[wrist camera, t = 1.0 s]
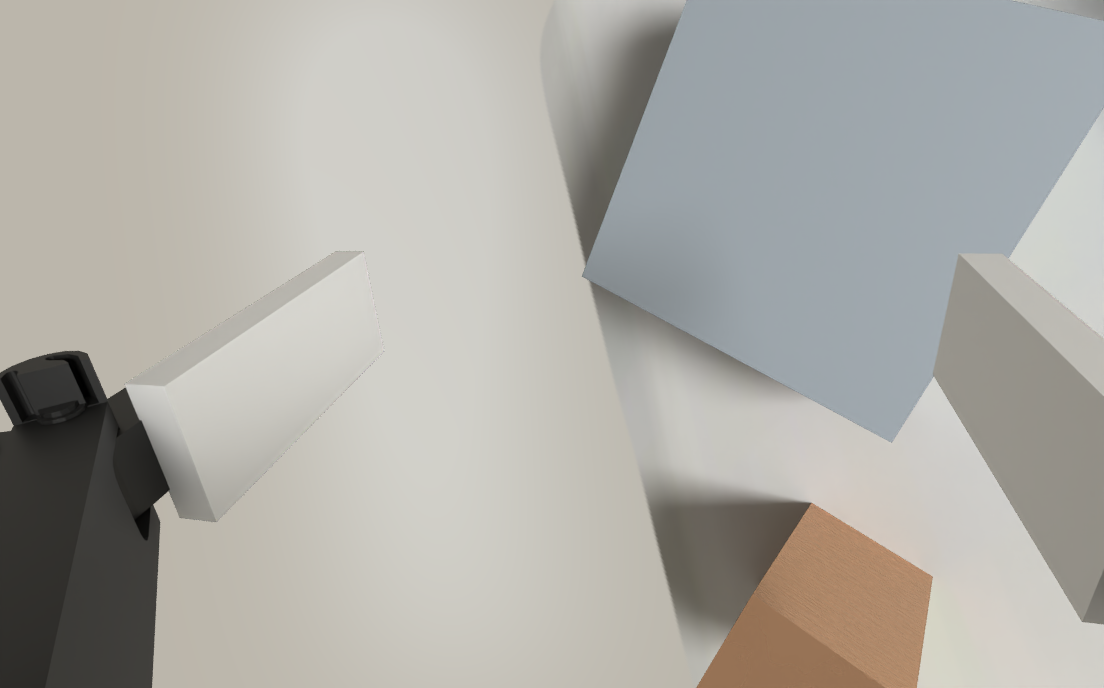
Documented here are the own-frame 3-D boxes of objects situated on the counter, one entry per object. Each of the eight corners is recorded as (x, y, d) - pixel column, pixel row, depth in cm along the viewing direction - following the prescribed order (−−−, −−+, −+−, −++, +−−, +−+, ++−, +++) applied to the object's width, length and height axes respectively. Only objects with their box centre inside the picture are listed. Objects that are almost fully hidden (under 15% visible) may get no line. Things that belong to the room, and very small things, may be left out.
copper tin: (811, 502, 38) (752, 594, 28) (932, 576, 35) (913, 707, 25) (759, 589, 41) (687, 701, 31) (868, 665, 38) (827, 816, 28)
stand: (773, 5, 36) (711, -66, 28) (1103, 91, 29) (1152, 31, 21) (661, 269, 42) (581, 276, 33) (913, 394, 35) (891, 442, 26)
